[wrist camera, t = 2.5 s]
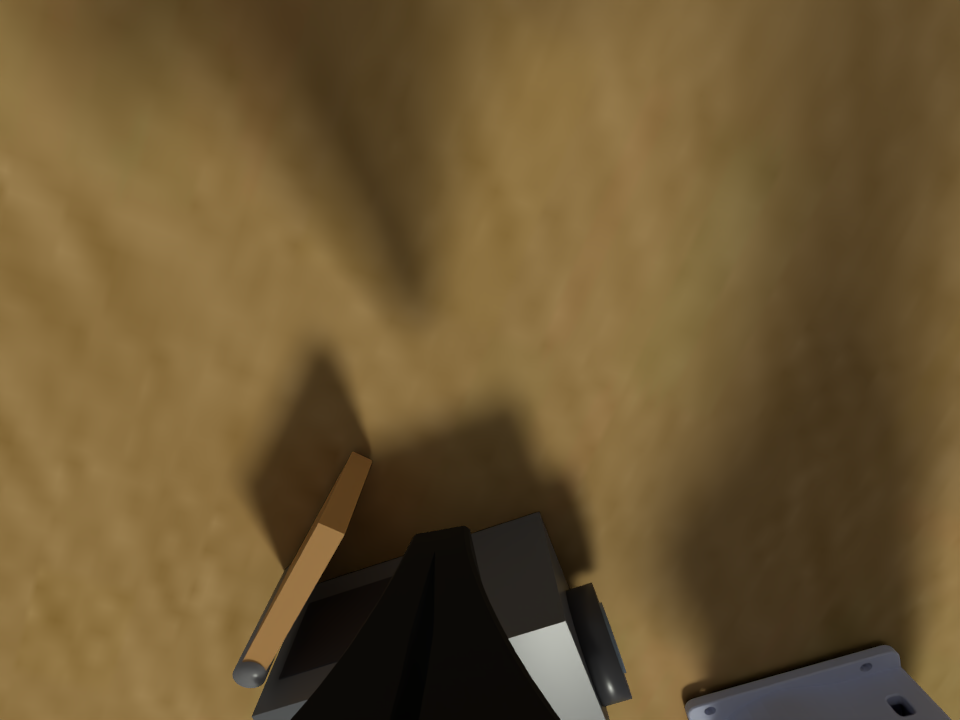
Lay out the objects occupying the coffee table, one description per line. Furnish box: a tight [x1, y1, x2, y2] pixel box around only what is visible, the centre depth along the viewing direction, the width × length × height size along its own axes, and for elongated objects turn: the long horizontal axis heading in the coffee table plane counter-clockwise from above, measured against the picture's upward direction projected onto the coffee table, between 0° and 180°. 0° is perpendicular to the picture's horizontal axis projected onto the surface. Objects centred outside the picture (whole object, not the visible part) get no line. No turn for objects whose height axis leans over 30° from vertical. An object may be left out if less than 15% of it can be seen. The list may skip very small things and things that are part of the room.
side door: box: [233, 451, 372, 688], centre depth 16 cm, size 7×1×4 cm, turn 150°
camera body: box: [252, 512, 632, 720], centre depth 16 cm, size 11×6×6 cm, turn 110°
